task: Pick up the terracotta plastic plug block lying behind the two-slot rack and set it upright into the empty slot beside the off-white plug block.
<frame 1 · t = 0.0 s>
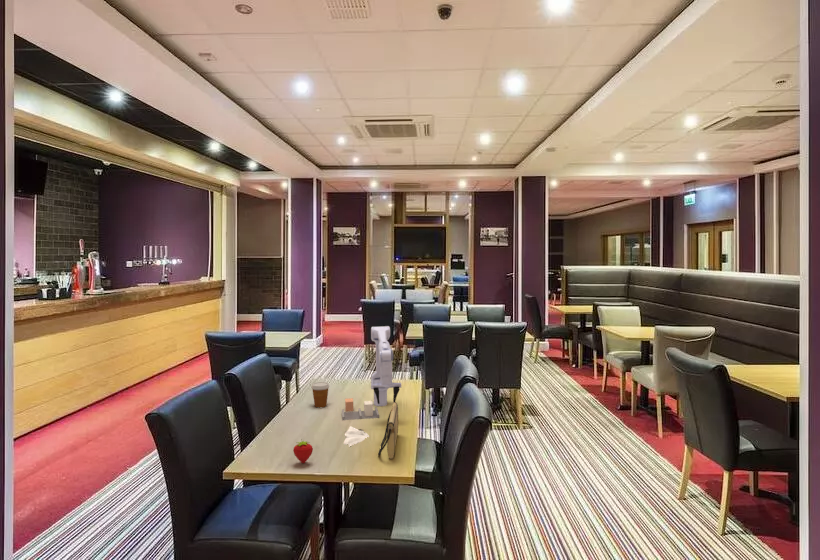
hand: (386, 402, 222), 10 cm above the table, tool pointing down, fingers open, 7 cm apart
terracotta plug: (349, 411, 241), on the table
disposable coffee cup: (320, 406, 250), on the table
clutch purse: (388, 447, 195), on the table
white plug: (368, 414, 233), point 1 cm above the table, touching slot rack
strawberry: (303, 463, 179), on the table
cloth: (354, 437, 207), on the table
slot rack: (360, 416, 232), on the table
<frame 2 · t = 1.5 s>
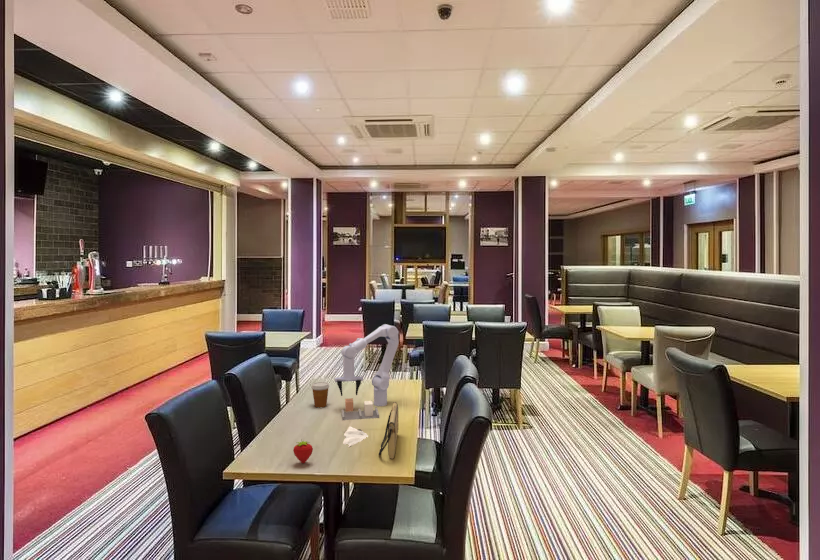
hand: (349, 395, 241), 9 cm above the table, tool pointing down, fingers open, 7 cm apart
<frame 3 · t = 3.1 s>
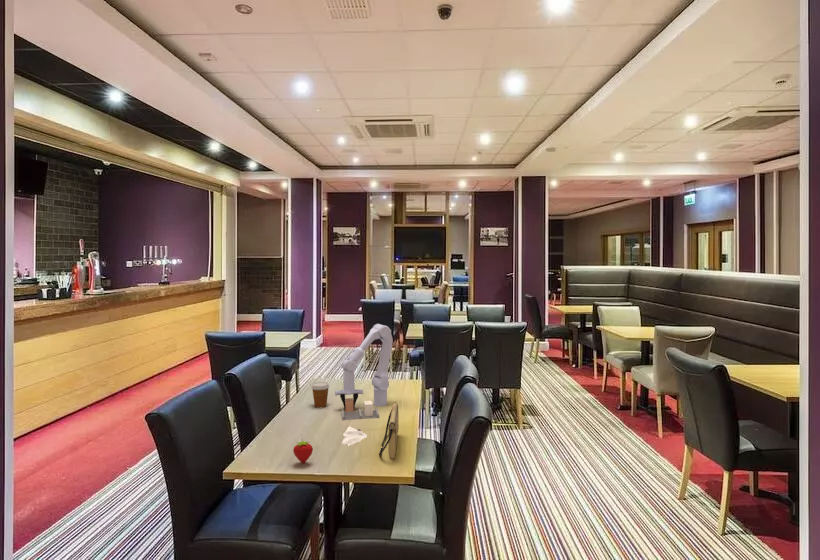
hand: (349, 408, 241), 2 cm above the table, tool pointing down, fingers closed on terracotta plug, 4 cm apart
terracotta plug: (349, 411, 241), on the table, touching gripper
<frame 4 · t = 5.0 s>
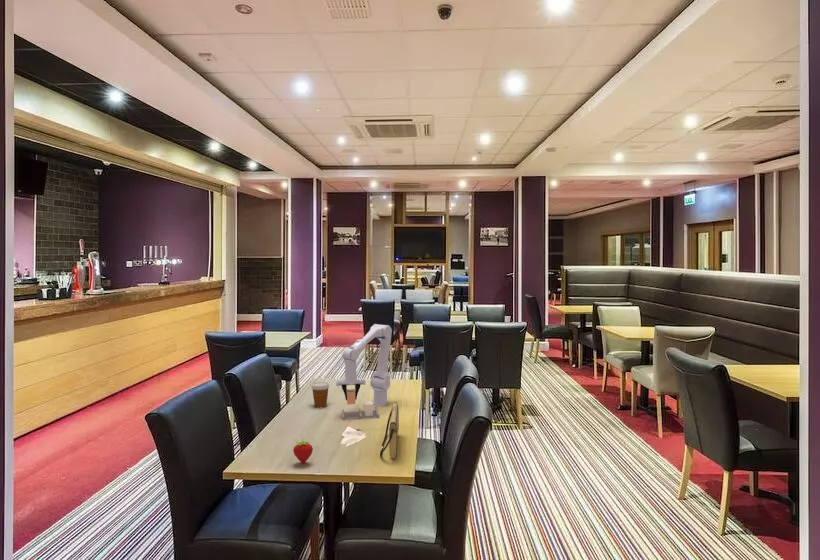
hand: (351, 399, 232), 9 cm above the table, tool pointing down, fingers closed on terracotta plug, 4 cm apart
terracotta plug: (351, 402, 232), point 7 cm above the table, touching gripper
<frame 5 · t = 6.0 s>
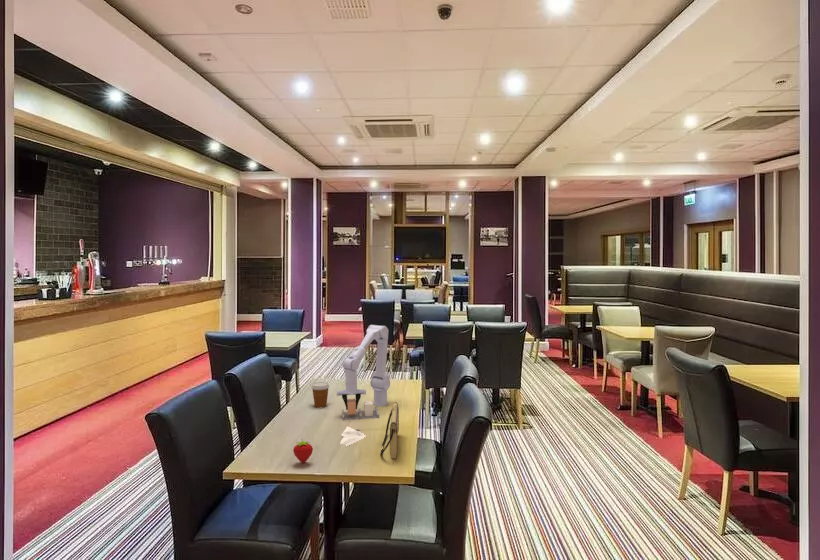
hand: (351, 409, 231), 4 cm above the table, tool pointing down, fingers closed on terracotta plug, 4 cm apart
terracotta plug: (351, 412, 232), point 3 cm above the table, touching gripper
when the fingers open (4 cm above the table, at t = 6.8 s): terracotta plug drops 1 cm, resting on slot rack.
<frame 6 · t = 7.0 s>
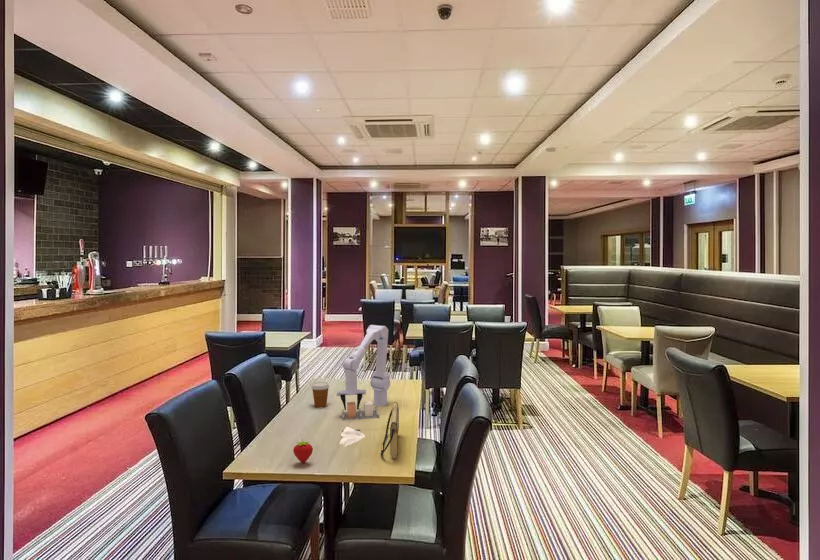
hand: (351, 409, 231), 4 cm above the table, tool pointing down, fingers open, 6 cm apart
terracotta plug: (351, 415, 232), point 1 cm above the table, touching slot rack
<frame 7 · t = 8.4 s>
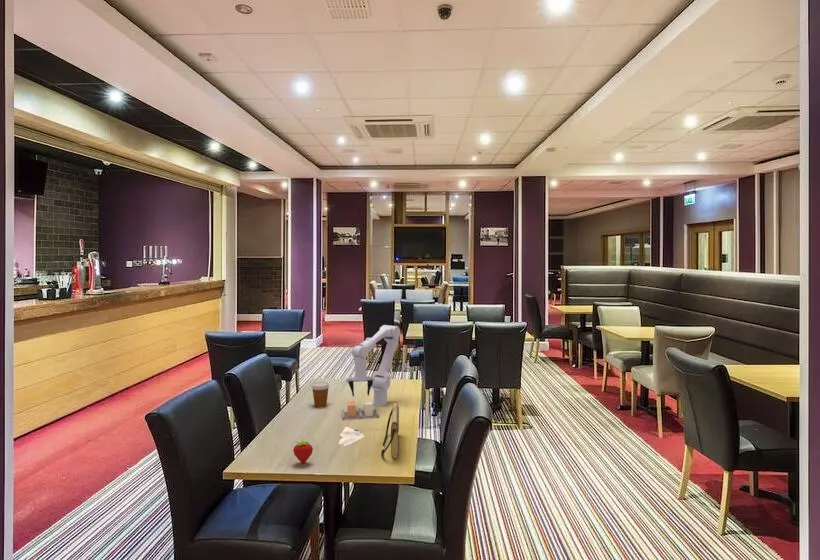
hand: (360, 395, 238), 9 cm above the table, tool pointing down, fingers open, 7 cm apart
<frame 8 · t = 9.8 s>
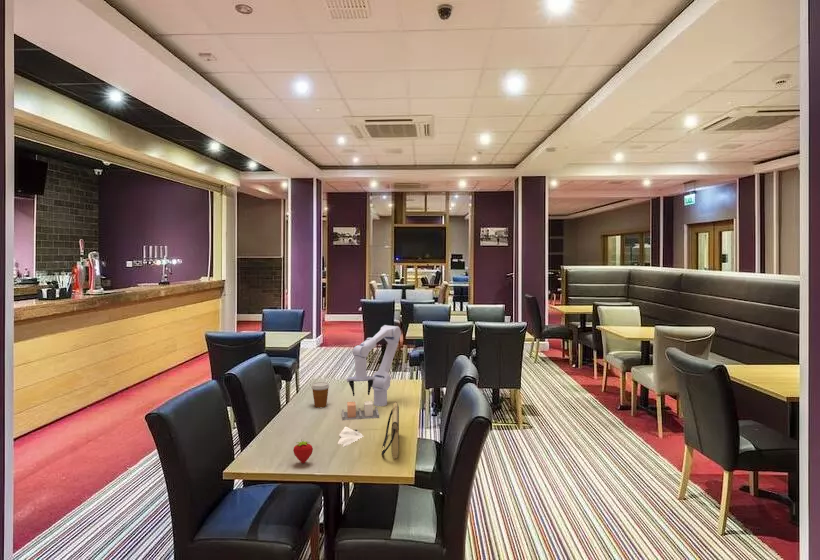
hand: (361, 395, 238), 9 cm above the table, tool pointing down, fingers open, 7 cm apart
at the end: terracotta plug 0.2 cm from the target spot on the slot rack, point 1.0 cm above the slot rack's base; terracotta plug tilted 0°; white plug moved 0.0 cm from its start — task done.
